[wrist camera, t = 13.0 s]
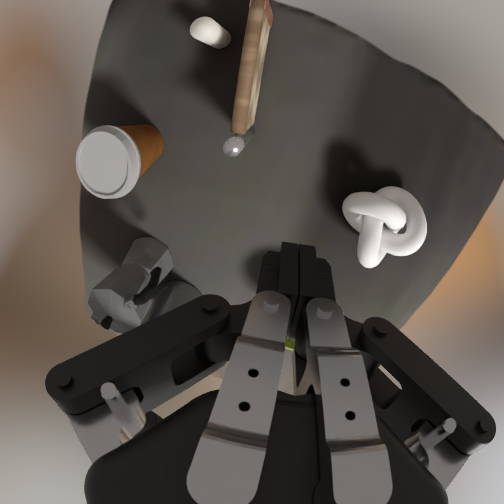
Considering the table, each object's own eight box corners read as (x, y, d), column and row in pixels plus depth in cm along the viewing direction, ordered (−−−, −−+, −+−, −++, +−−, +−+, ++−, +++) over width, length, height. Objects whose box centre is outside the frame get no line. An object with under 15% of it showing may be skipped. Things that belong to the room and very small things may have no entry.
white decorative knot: (403, 162, 36) (427, 182, 29) (418, 231, 41) (439, 261, 34) (333, 186, 40) (342, 211, 32) (356, 252, 45) (366, 287, 38)
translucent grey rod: (256, 137, 38) (241, 156, 28) (243, 138, 38) (224, 157, 28) (255, 124, 37) (240, 138, 27) (241, 125, 37) (221, 140, 27)
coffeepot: (145, 287, 55) (104, 354, 40) (115, 252, 52) (63, 313, 37) (202, 258, 50) (165, 336, 35) (169, 215, 46) (115, 282, 31)
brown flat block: (255, 123, 36) (244, 134, 28) (243, 122, 36) (228, 132, 28) (273, 16, 28) (267, -5, 19) (260, 15, 28) (250, -7, 20)
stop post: (231, 47, 31) (217, 37, 24) (210, 50, 32) (191, 42, 25) (230, 27, 30) (215, 14, 23) (208, 31, 30) (188, 19, 23)
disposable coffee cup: (167, 107, 37) (123, 117, 27) (179, 167, 41) (143, 196, 31) (114, 122, 38) (65, 139, 28) (127, 177, 43) (85, 207, 33)
